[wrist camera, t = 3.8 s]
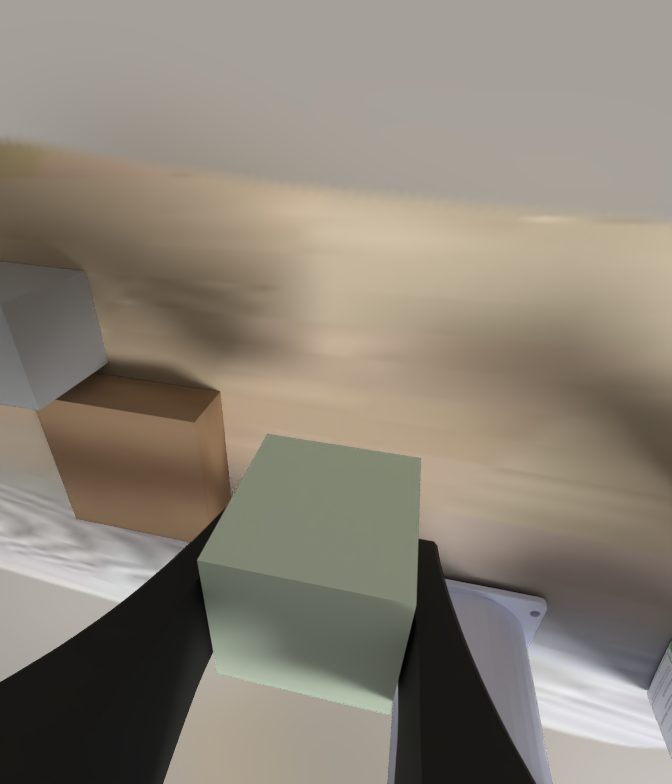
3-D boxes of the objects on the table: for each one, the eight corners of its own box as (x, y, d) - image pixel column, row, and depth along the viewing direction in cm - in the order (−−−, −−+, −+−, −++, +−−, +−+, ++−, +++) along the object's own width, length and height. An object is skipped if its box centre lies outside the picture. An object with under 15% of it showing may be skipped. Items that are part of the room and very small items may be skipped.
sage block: (400, 562, 14) (389, 715, 11) (271, 537, 15) (217, 673, 11) (420, 458, 12) (416, 605, 8) (267, 433, 13) (197, 560, 9)
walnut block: (234, 505, 25) (212, 546, 23) (110, 482, 26) (76, 518, 24) (223, 388, 21) (194, 422, 19) (76, 366, 22) (30, 395, 20)
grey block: (109, 361, 21) (39, 410, 17) (28, 350, 22) (-57, 394, 18) (87, 270, 19) (0, 303, 15) (-3, 260, 20) (-108, 289, 16)
